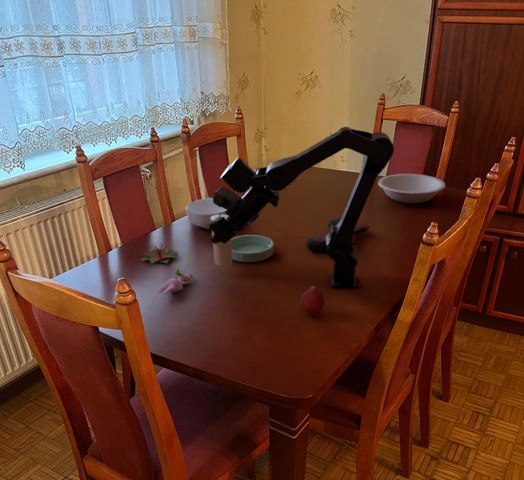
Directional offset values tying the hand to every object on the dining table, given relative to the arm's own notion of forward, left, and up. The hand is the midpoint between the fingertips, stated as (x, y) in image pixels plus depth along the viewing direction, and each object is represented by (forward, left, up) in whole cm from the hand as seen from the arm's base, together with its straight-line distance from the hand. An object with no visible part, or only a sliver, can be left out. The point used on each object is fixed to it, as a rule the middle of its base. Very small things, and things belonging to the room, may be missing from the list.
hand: (217, 238), depth 148 cm
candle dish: (+15, -7, -11) cm, 20 cm away
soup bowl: (+67, -61, -11) cm, 91 cm away
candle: (0, -1, -7) cm, 7 cm away
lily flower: (+11, +20, -11) cm, 25 cm away
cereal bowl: (+39, +9, -11) cm, 41 cm away
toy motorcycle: (+26, -35, -11) cm, 45 cm away
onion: (-21, -27, -11) cm, 36 cm away
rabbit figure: (-10, +10, -11) cm, 18 cm away
